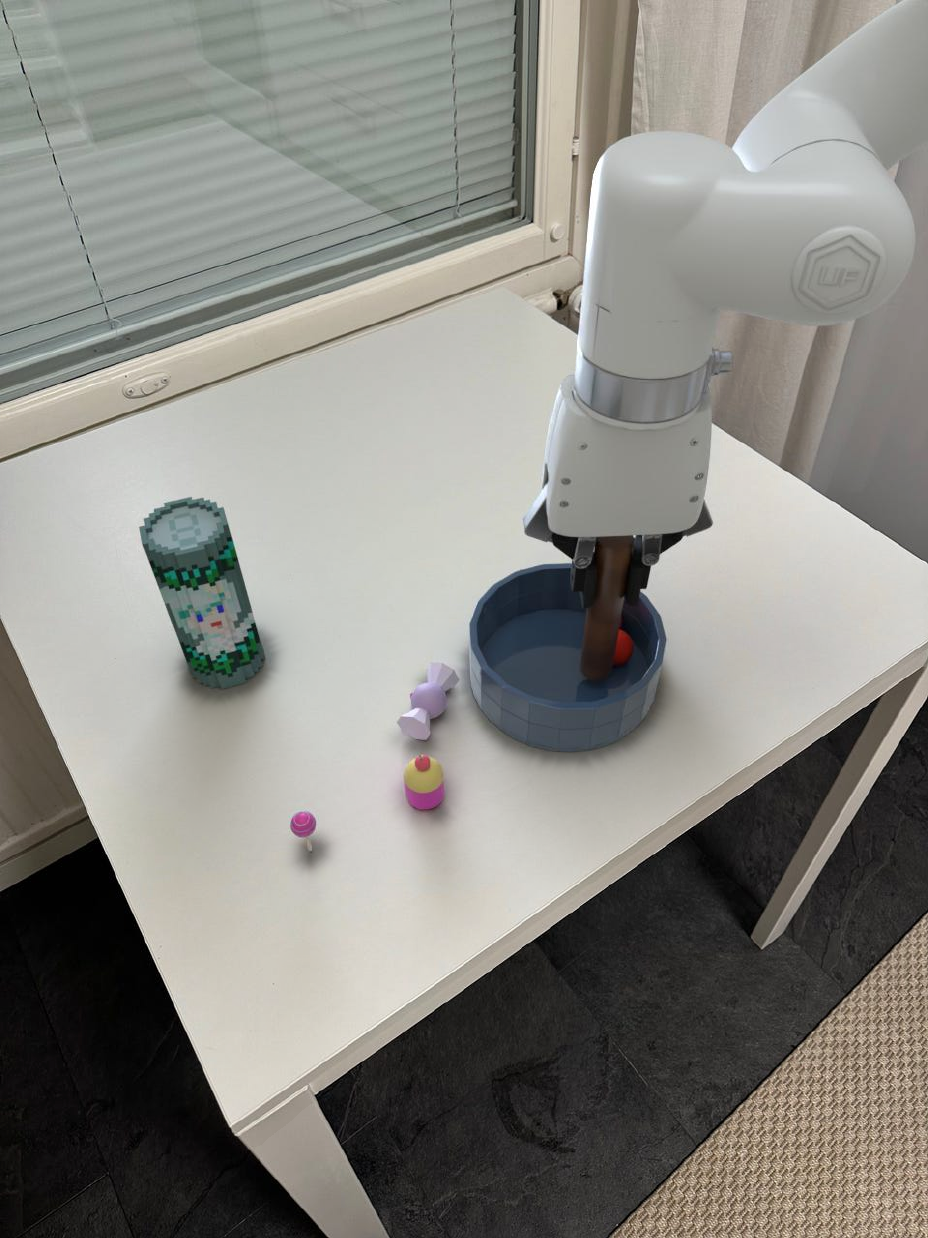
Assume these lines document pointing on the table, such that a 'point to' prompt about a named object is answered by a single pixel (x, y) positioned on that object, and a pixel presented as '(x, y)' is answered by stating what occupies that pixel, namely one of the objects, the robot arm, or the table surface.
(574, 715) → the bowl
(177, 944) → the table surface
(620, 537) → the stick
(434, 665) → the candy
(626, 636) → the tomato
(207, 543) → the can
